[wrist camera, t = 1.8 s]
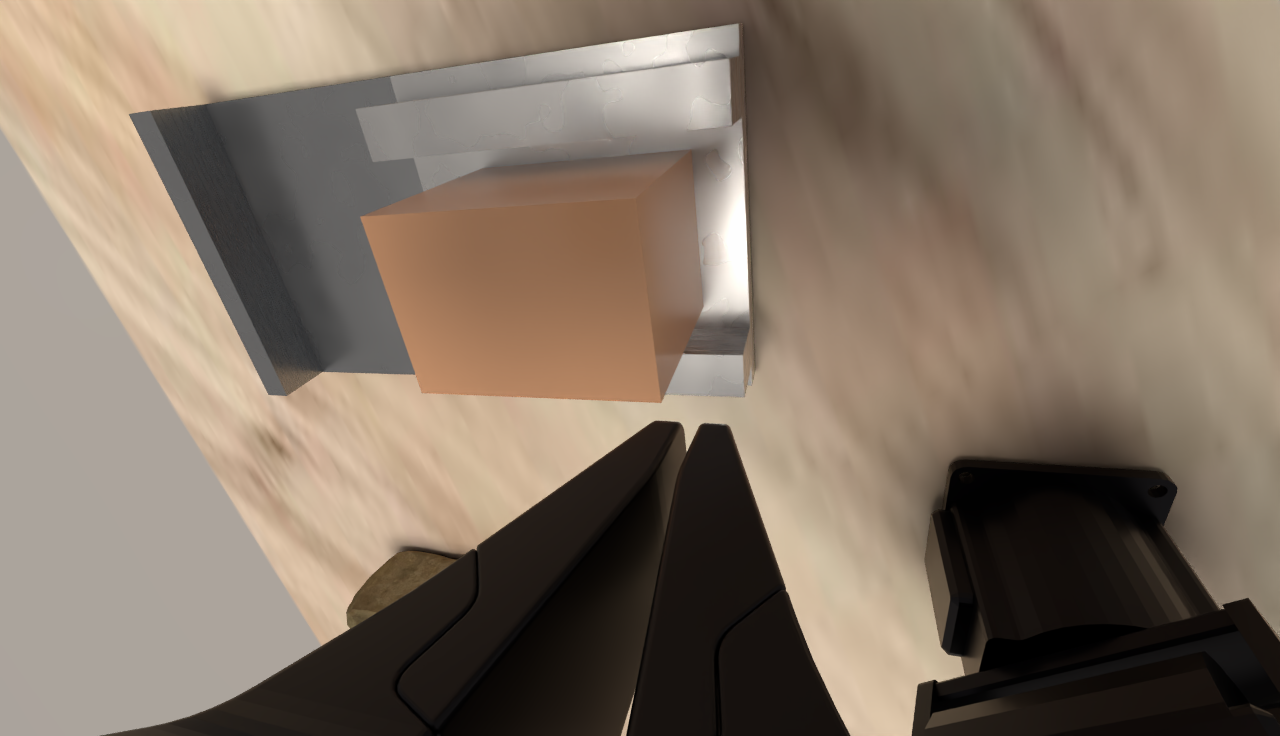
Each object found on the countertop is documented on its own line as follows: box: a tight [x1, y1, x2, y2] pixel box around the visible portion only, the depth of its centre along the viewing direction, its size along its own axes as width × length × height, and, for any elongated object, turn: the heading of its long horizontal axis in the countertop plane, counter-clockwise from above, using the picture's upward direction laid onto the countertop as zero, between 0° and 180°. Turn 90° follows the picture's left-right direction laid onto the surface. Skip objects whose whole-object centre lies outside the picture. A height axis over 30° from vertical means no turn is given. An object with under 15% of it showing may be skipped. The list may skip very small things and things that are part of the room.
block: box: [360, 149, 704, 403], centre depth 17 cm, size 7×5×6 cm
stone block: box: [346, 551, 458, 629], centre depth 31 cm, size 6×12×5 cm, turn 93°
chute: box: [129, 23, 755, 397], centre depth 20 cm, size 20×11×3 cm, turn 98°
